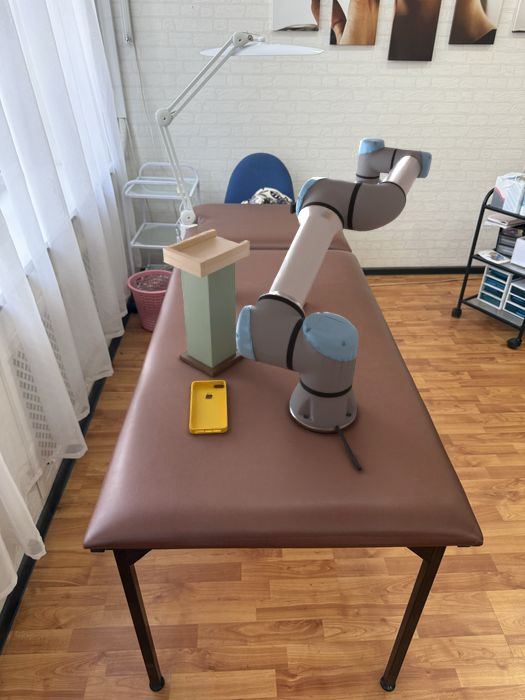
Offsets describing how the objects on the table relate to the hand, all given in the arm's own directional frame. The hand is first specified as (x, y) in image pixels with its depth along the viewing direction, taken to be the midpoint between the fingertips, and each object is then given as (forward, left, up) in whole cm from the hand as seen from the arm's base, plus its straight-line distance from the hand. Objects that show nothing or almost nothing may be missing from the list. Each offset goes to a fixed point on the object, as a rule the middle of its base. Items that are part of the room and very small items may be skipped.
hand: (310, 214), depth 144 cm
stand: (-29, +29, -28) cm, 50 cm away
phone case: (-49, +30, -28) cm, 64 cm away
